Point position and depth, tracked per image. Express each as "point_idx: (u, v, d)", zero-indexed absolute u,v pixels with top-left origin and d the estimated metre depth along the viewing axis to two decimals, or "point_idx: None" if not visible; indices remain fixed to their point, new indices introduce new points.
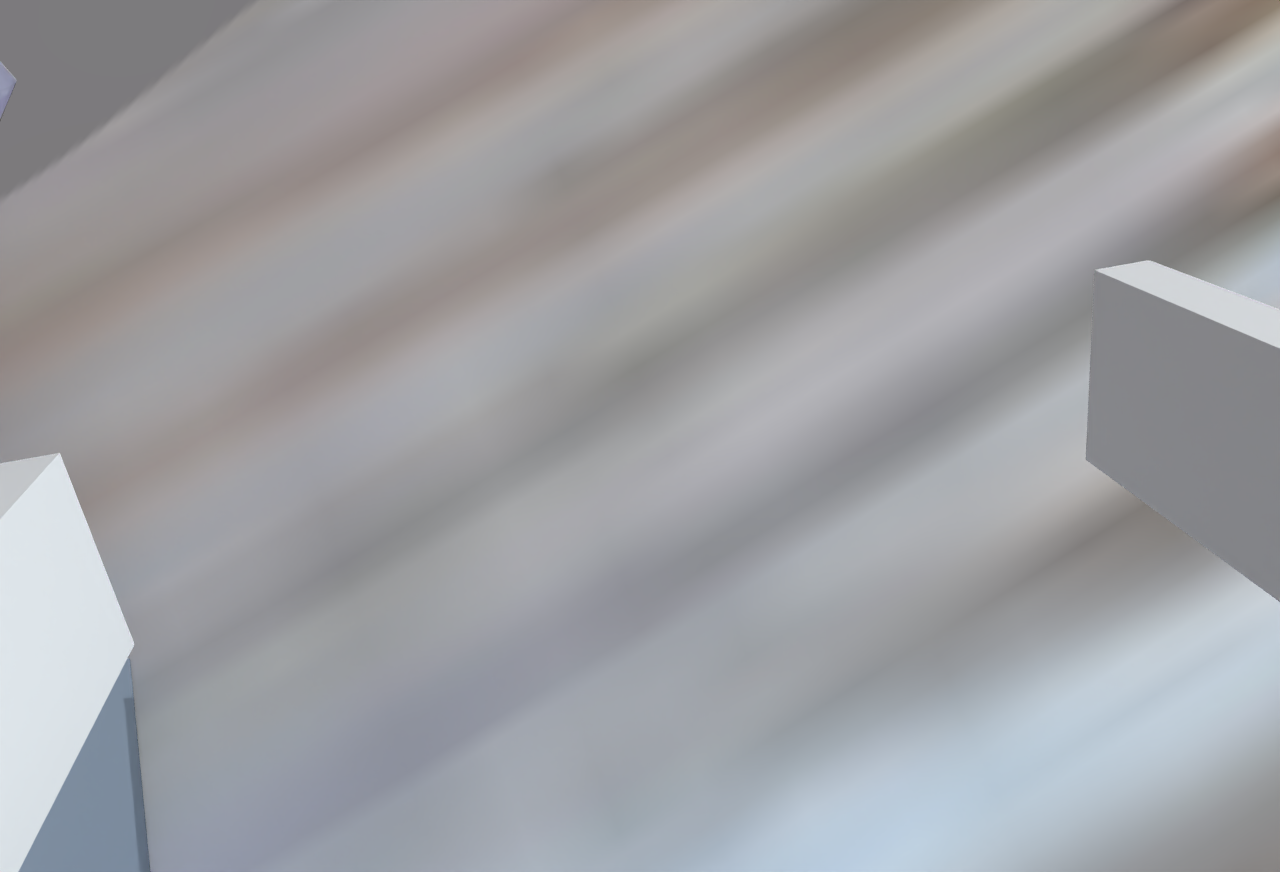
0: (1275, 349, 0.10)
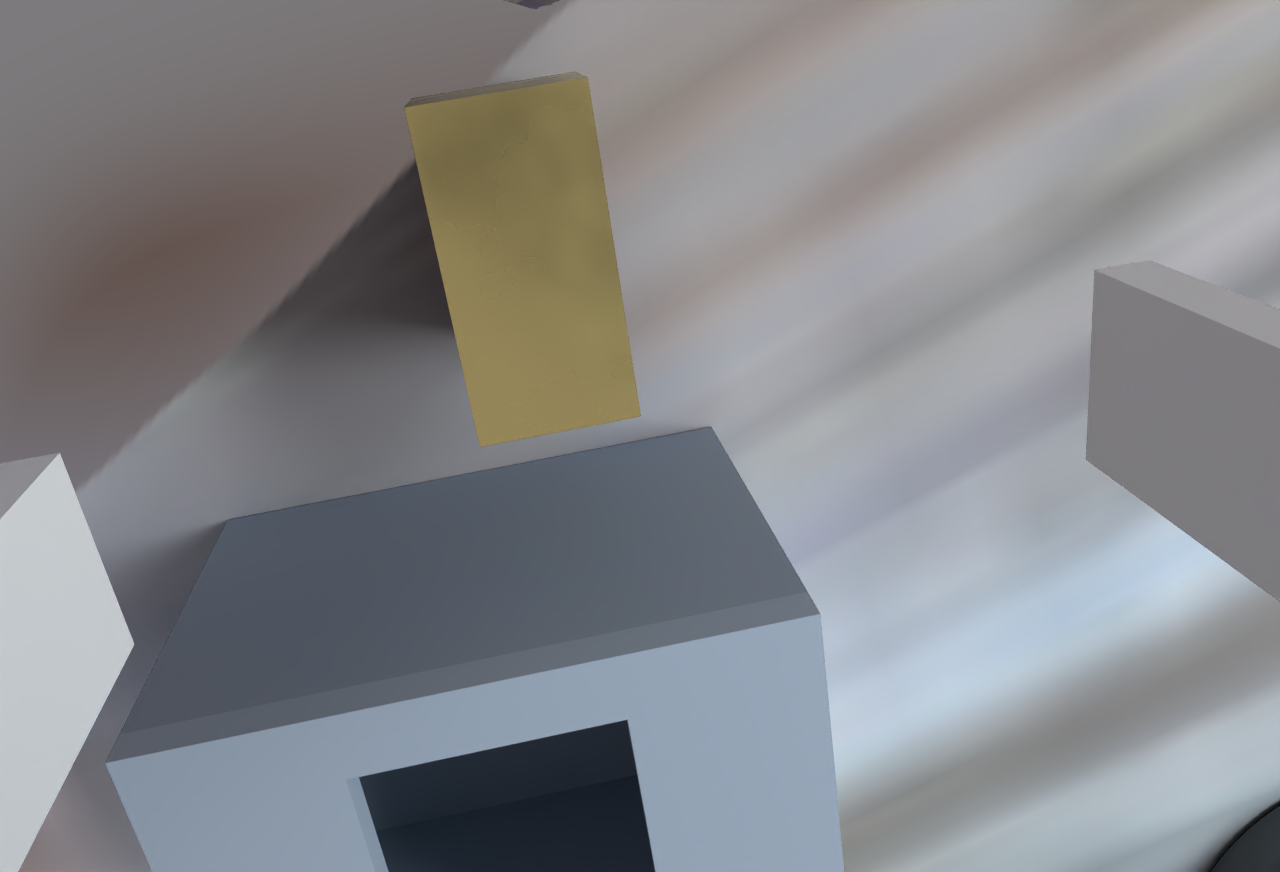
0: (1275, 349, 0.10)
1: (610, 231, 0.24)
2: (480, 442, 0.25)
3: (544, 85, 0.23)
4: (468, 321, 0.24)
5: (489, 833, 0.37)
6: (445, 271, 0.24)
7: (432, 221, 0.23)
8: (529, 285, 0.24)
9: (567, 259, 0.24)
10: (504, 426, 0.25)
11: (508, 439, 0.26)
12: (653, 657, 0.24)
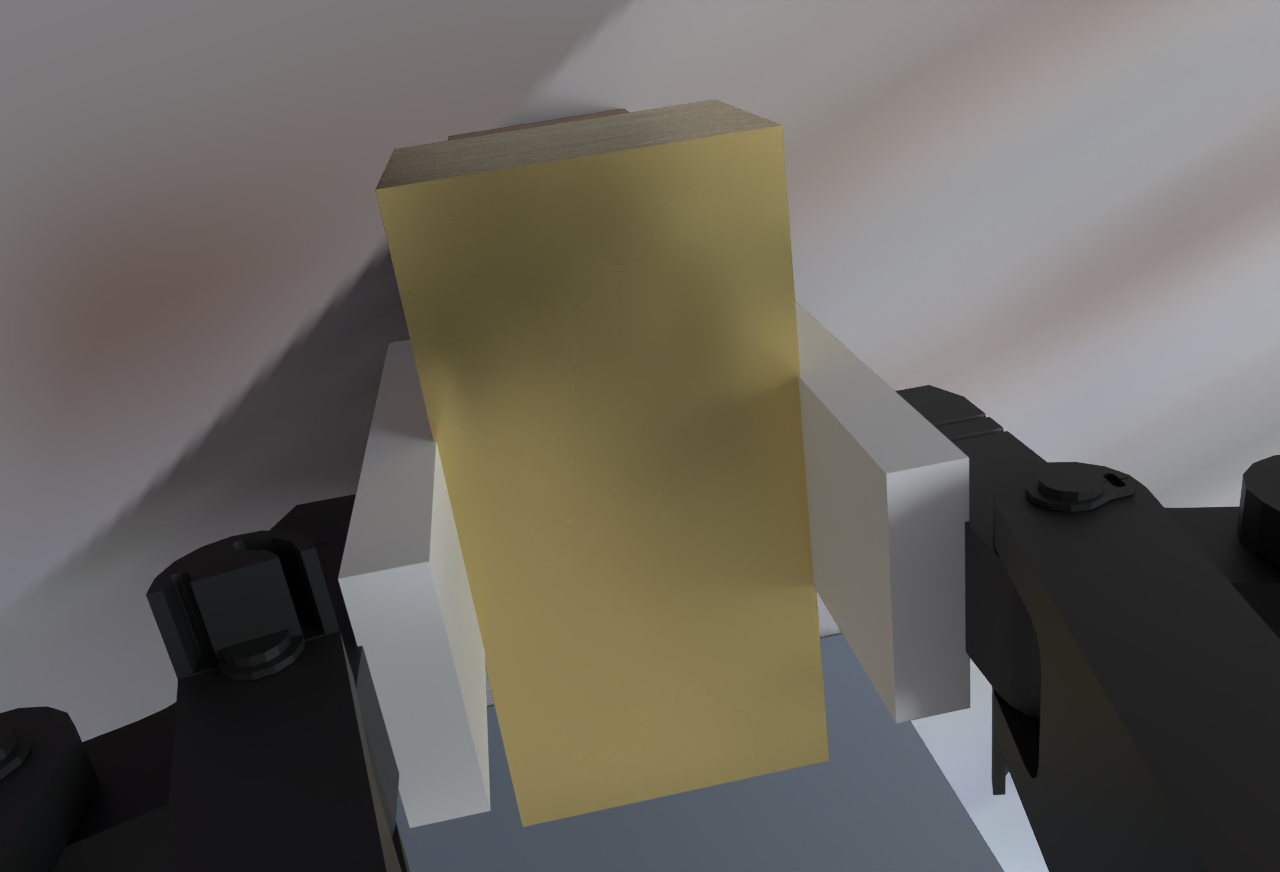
0: None
1: (802, 437, 0.12)
2: (524, 820, 0.13)
3: (687, 142, 0.10)
4: (506, 611, 0.12)
5: None
6: (462, 522, 0.11)
7: (436, 424, 0.11)
8: (632, 541, 0.12)
9: (712, 491, 0.12)
10: (570, 790, 0.13)
11: (576, 807, 0.13)
12: None
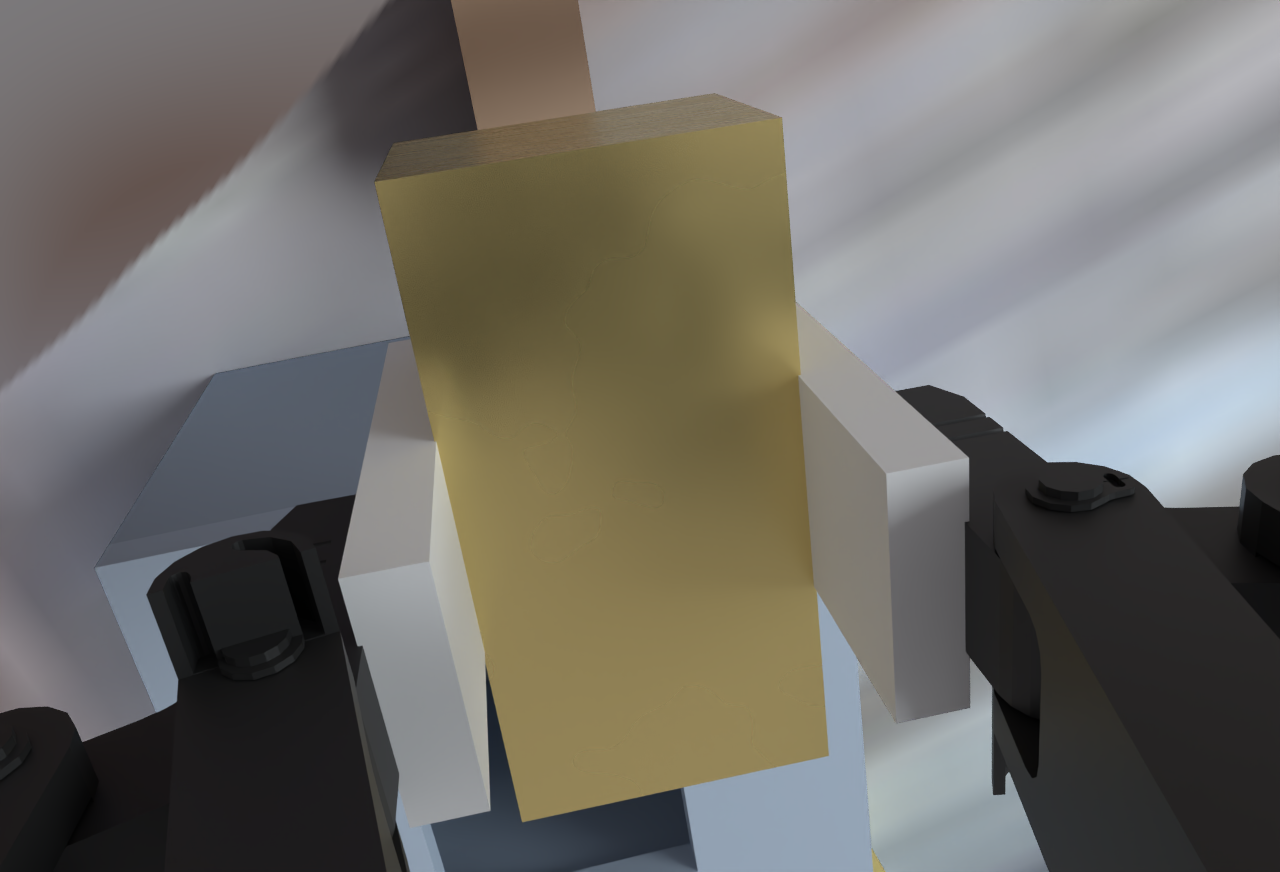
0: None
1: None
2: (523, 815, 0.13)
3: (686, 134, 0.10)
4: (506, 606, 0.12)
5: (490, 703, 0.36)
6: (461, 515, 0.11)
7: (435, 418, 0.11)
8: (631, 536, 0.12)
9: (711, 485, 0.12)
10: (570, 786, 0.13)
11: (576, 804, 0.13)
12: None
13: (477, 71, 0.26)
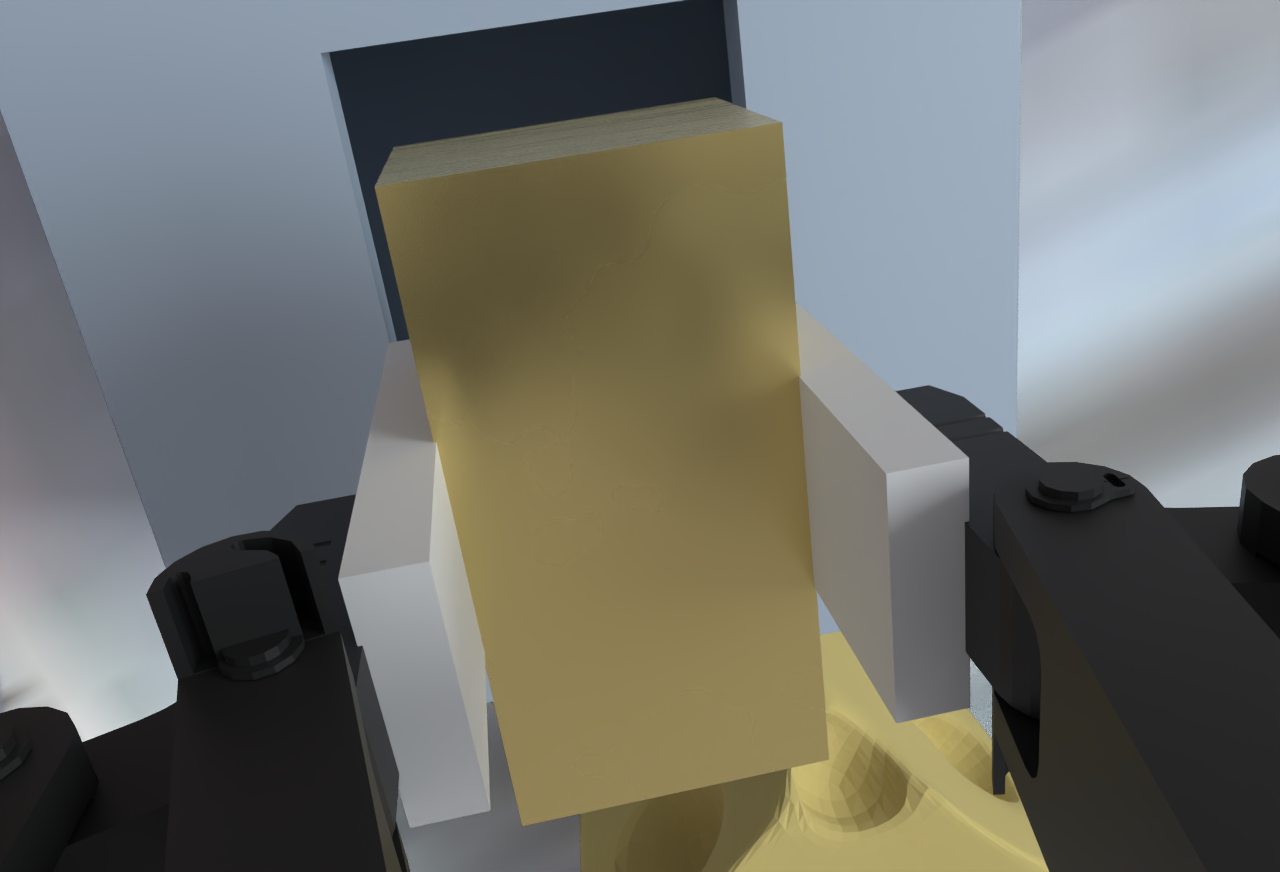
0: None
1: (802, 435, 0.12)
2: (523, 819, 0.13)
3: (687, 139, 0.10)
4: (506, 609, 0.12)
5: None
6: (461, 519, 0.11)
7: (435, 422, 0.11)
8: (632, 540, 0.12)
9: (712, 489, 0.12)
10: (570, 790, 0.13)
11: (575, 807, 0.13)
12: None
13: None
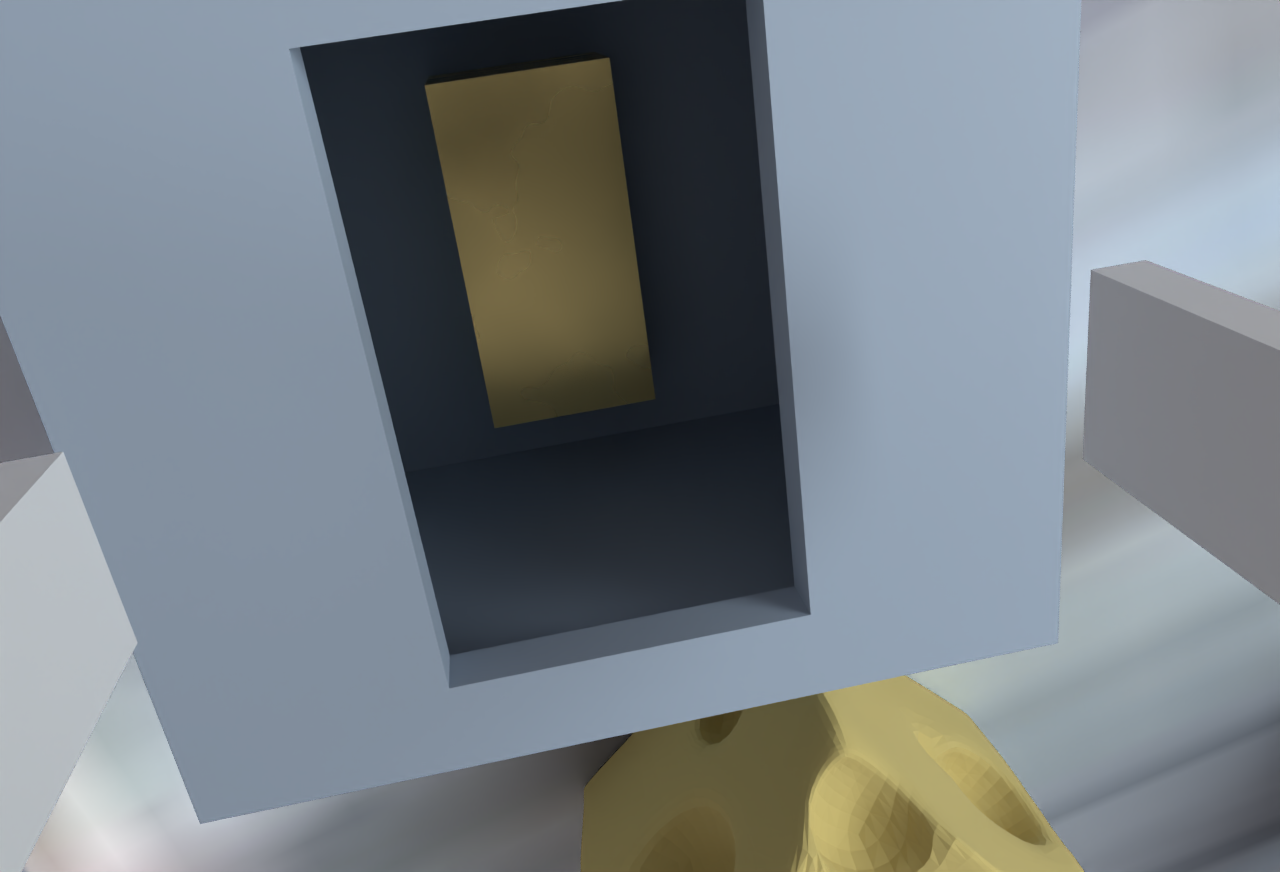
0: (1270, 349, 0.10)
1: (629, 213, 0.24)
2: (495, 423, 0.25)
3: (566, 65, 0.22)
4: (485, 302, 0.24)
5: (502, 475, 0.28)
6: (463, 251, 0.24)
7: (451, 200, 0.23)
8: (546, 266, 0.24)
9: (585, 240, 0.24)
10: (518, 408, 0.25)
11: (522, 421, 0.26)
12: None
13: None
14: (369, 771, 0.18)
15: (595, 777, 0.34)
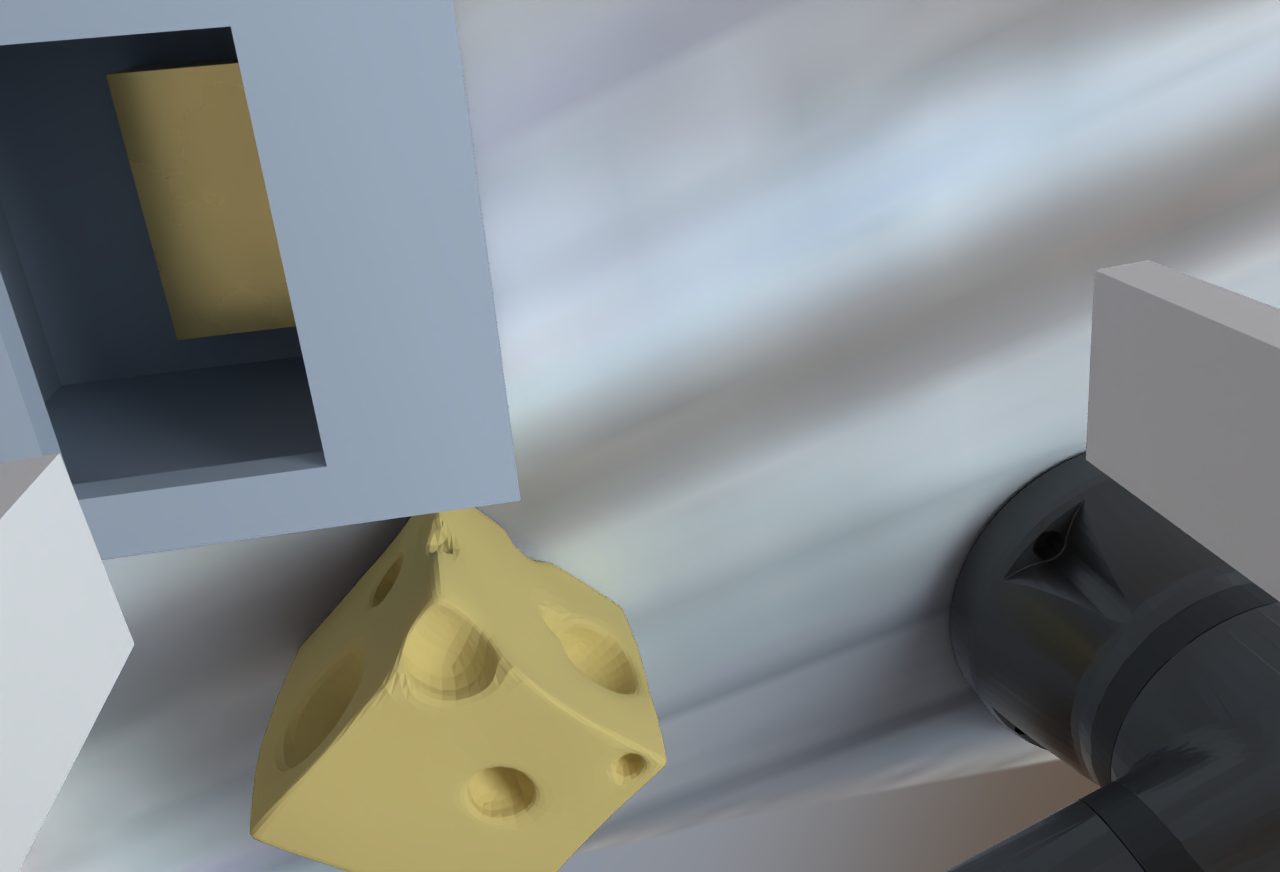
0: (1275, 349, 0.10)
1: None
2: (177, 336, 0.33)
3: (216, 65, 0.30)
4: (164, 241, 0.32)
5: (199, 381, 0.35)
6: (143, 201, 0.31)
7: (132, 162, 0.31)
8: (211, 217, 0.32)
9: (241, 198, 0.32)
10: (196, 325, 0.33)
11: (201, 336, 0.33)
12: None
13: None
14: None
15: (306, 641, 0.42)
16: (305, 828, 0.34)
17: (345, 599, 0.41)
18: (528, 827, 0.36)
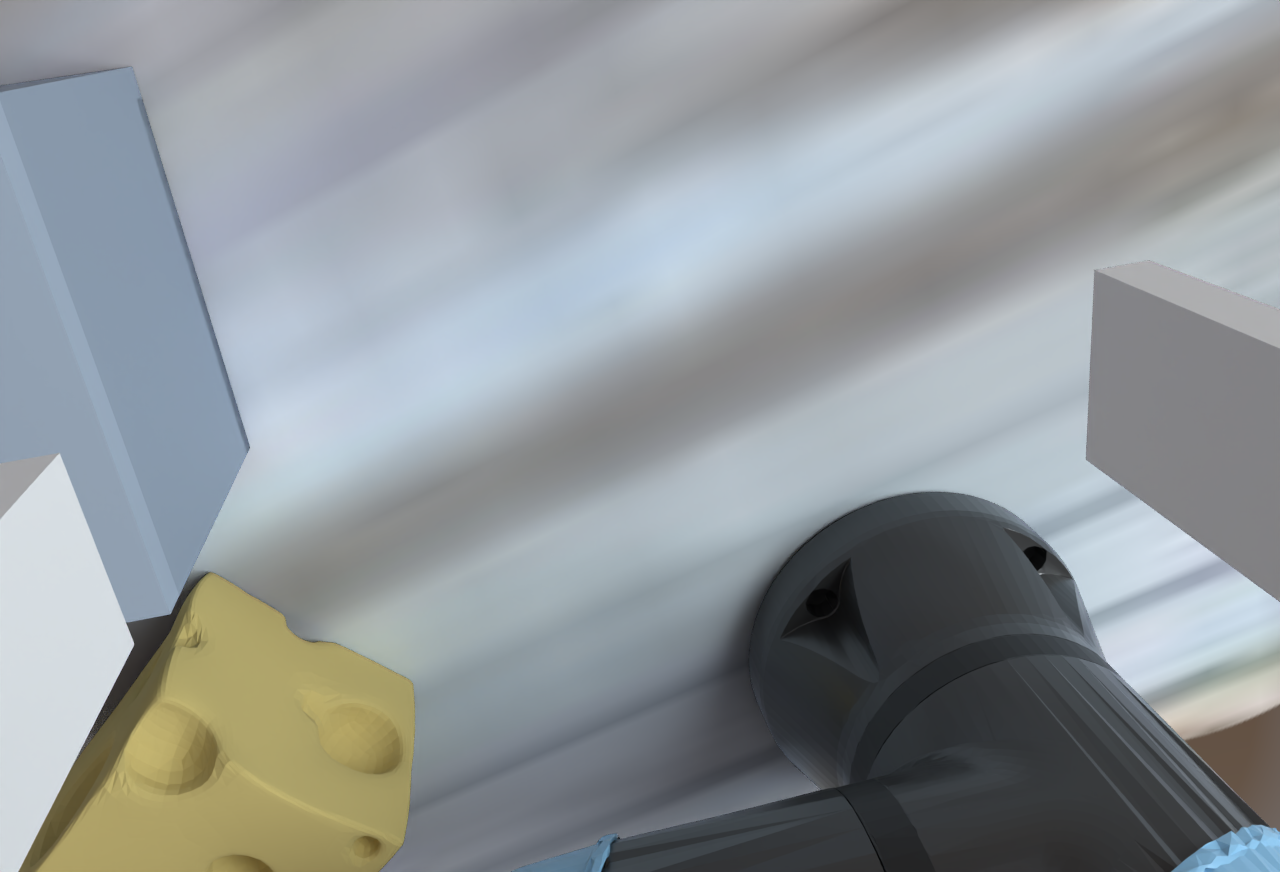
0: (1275, 349, 0.10)
1: None
2: None
3: None
4: None
5: None
6: None
7: None
8: None
9: None
10: None
11: None
12: None
13: None
14: None
15: (100, 728, 0.44)
16: None
17: (131, 687, 0.43)
18: None
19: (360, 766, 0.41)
